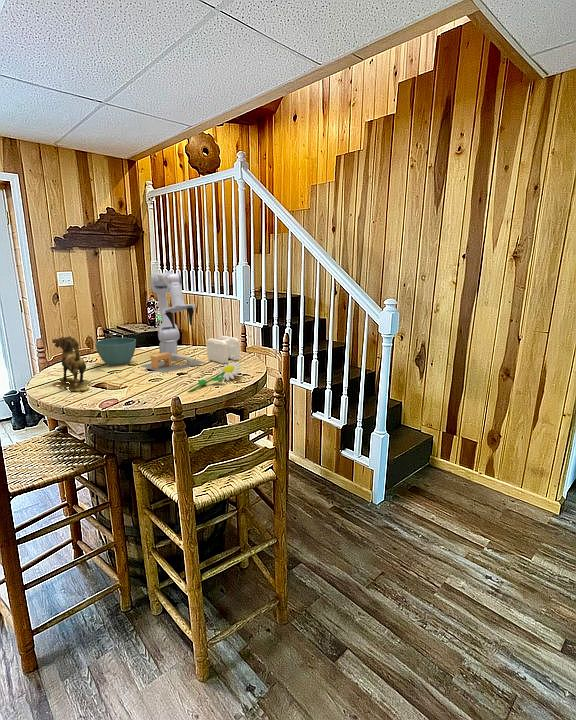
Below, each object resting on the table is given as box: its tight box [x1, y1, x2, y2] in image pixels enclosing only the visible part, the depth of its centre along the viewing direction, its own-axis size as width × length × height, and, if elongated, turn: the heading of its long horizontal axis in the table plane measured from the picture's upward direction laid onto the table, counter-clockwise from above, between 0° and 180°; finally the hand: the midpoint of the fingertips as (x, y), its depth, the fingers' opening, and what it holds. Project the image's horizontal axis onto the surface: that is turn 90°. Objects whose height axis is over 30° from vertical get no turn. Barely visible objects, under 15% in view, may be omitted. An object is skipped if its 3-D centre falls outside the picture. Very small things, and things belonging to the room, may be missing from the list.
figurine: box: [51, 336, 91, 393], centre depth 168 cm, size 13×25×20 cm, turn 42°
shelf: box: [140, 353, 207, 374], centre depth 196 cm, size 20×24×5 cm
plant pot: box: [94, 337, 137, 367], centre depth 199 cm, size 18×18×12 cm
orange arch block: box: [150, 352, 172, 369], centre depth 191 cm, size 4×8×6 cm, turn 139°
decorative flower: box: [187, 361, 243, 393], centre depth 171 cm, size 13×5×30 cm
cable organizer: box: [206, 335, 240, 365], centre depth 207 cm, size 15×11×12 cm
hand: (182, 326), depth 186 cm, fingers open, 7 cm apart
